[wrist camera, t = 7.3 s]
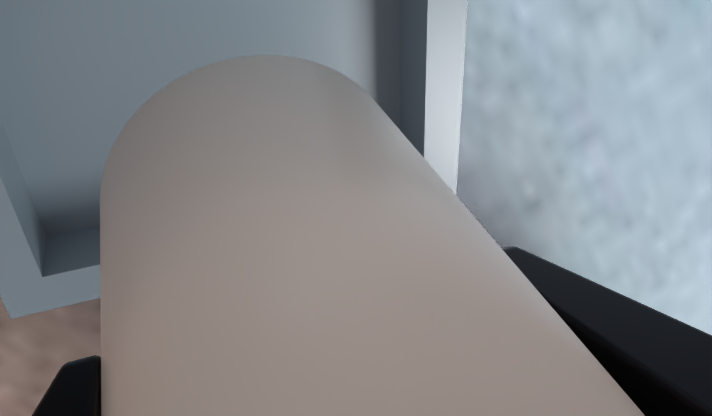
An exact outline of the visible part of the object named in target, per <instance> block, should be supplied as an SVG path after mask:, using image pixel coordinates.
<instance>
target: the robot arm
mask: <svg viewBox="0 0 712 416" xmlns="http://www.w3.org/2000/svg"><path fill="white" fill-rule="evenodd" d="M502 250H503V251H504V252H505V253H506V254H507V255H508V257H509V258H510V259H511V260H512V261H513V262H514V264H515V265H516V266H517V267H518V268H519V269H520V271H521V272H522V273H523V274H524V275H525V276H526V278H527V279H528V280H529V281H530V282H531V283H532V285H533V286H534V287H535V288H536V289H537V290H538V292H539V293H540V294H541V295H542V296H543V297H544V299H545V300H546V301H547V302H548V303H549V304H550V306H551V307H552V308H553V309H554V310H555V311H556V313H557V314H558V315H559V316H560V317H561V318H562V320H563V321H564V322H565V323H566V324H567V325H568V327H569V328H570V329H571V330H572V331H573V332H574V334H575V335H576V336H577V337H578V338H579V339H580V341H581V342H582V343H583V344H584V345H585V346H586V348H587V349H588V350H589V351H590V352H591V353H592V354H593V356H594V357H595V358H596V359H597V360H598V361H599V363H600V364H601V365H602V366H603V367H604V368H605V370H606V371H607V372H608V373H609V374H610V375H611V377H612V378H613V379H614V380H615V381H616V382H617V384H618V385H619V386H620V387H621V388H622V389H623V391H624V392H625V393H626V394H627V395H628V396H629V398H630V399H631V400H632V401H633V402H634V403H635V405H636V406H637V407H638V408H639V409H640V410H641V412H642V413H643V414H644V415H645V416H712V335H710V334H707V333H705V332H703V331H701V330H699V329H696V328H694V327H692V326H690V325H688V324H685V323H683V322H681V321H679V320H677V319H674V318H672V317H670V316H668V315H666V314H663V313H661V312H659V311H657V310H655V309H652V308H650V307H648V306H646V305H644V304H641V303H639V302H637V301H635V300H633V299H630V298H628V297H626V296H624V295H622V294H619V293H617V292H615V291H613V290H611V289H608V288H606V287H604V286H602V285H600V284H597V283H595V282H593V281H591V280H589V279H586V278H584V277H582V276H580V275H577V274H575V273H573V272H571V271H569V270H566V269H564V268H562V267H560V266H558V265H555V264H553V263H551V262H549V261H547V260H544V259H542V258H540V257H538V256H536V255H533V254H531V253H529V252H527V251H525V250H522V249H520V248H518V247H506V248H503V249H502ZM32 416H101V357H99V356H96V355H95V356H90V357H86V358H83V359H79V360H75V361H71V362H68V363H66V364H64V365H63V366H62V367H61V369H60V370H59V372H58V373H57V375H56V377H55V378H54V380H53V382H52V383H51V385H50V387H49V388H48V390H47V391H46V393H45V395H44V396H43V398H42V400H41V401H40V403H39V405H38V406H37V408H36V410H35V411H34V413H33V415H32Z"/></svg>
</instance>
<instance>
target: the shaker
mask: <svg viewBox="0 0 712 416" xmlns="http://www.w3.org/2000/svg"><path fill="white" fill-rule="evenodd" d="M100 298H101V416H645V415H644V414H643V413H642V412H641V410H640V409H639V408H638V407H637V406H636V405H635V403H634V402H633V401H632V400H631V399H630V398H629V396H628V395H627V394H626V393H625V392H624V391H623V389H622V388H621V387H620V386H619V385H618V384H617V382H616V381H615V380H614V379H613V378H612V377H611V375H610V374H609V373H608V372H607V371H606V370H605V368H604V367H603V366H602V365H601V364H600V363H599V361H598V360H597V359H596V358H595V357H594V356H593V354H592V353H591V352H590V351H589V350H588V349H587V348H586V346H585V345H584V344H583V343H582V342H581V341H580V339H579V338H578V337H577V336H576V335H575V334H574V332H573V331H572V330H571V329H570V328H569V327H568V325H567V324H566V323H565V322H564V321H563V320H562V318H561V317H560V316H559V315H558V314H557V313H556V311H555V310H554V309H553V308H552V307H551V306H550V304H549V303H548V302H547V301H546V300H545V299H544V297H543V296H542V295H541V294H540V293H539V292H538V290H537V289H536V288H535V287H534V286H533V285H532V283H531V282H530V281H529V280H528V279H527V278H526V276H525V275H524V274H523V273H522V272H521V271H520V269H519V268H518V267H517V266H516V265H515V264H514V262H513V261H512V260H511V259H510V258H509V257H508V255H507V254H506V253H505V252H504V251H503V250H502V248H501V247H500V246H499V245H498V244H497V243H496V241H495V240H494V239H493V238H492V237H491V236H490V234H489V233H488V232H487V231H486V230H485V229H484V227H483V226H482V225H481V224H480V223H479V222H478V221H477V219H476V218H475V217H474V216H473V215H472V214H471V212H470V211H469V210H468V209H467V208H466V207H465V205H464V204H463V203H462V202H461V201H460V200H459V198H458V197H457V196H456V195H455V194H454V193H453V191H452V190H451V189H450V188H449V187H448V186H447V184H446V183H445V182H444V181H443V180H442V179H441V177H440V176H439V175H438V174H437V173H436V172H435V170H434V169H433V168H432V167H431V166H430V165H429V163H428V162H427V161H426V160H425V159H424V158H423V156H422V155H421V154H420V153H419V152H418V151H417V149H416V148H415V147H414V146H413V145H412V144H411V142H410V141H409V140H408V139H407V138H406V137H405V135H404V134H403V133H402V132H401V131H400V130H399V128H398V127H397V126H396V125H395V124H394V123H393V121H392V120H391V119H390V118H389V117H388V116H387V114H386V113H385V112H384V111H383V110H382V109H381V107H380V106H379V105H378V104H377V103H376V102H375V100H374V99H373V98H372V97H371V96H370V95H369V94H368V93H367V92H366V91H365V90H364V89H362V88H361V87H360V86H359V85H358V84H357V83H355V82H354V81H352V80H351V79H349V78H348V77H346V76H345V75H343V74H342V73H340V72H338V71H336V70H334V69H331V68H329V67H327V66H325V65H323V64H319V63H316V62H313V61H309V60H306V59H302V58H296V57H290V56H284V55H253V56H243V57H236V58H232V59H227V60H223V61H219V62H215V63H212V64H209V65H207V66H204V67H201V68H199V69H196V70H194V71H192V72H190V73H188V74H186V75H184V76H182V77H180V78H178V79H176V80H174V81H173V82H171V83H170V84H168V85H167V86H166V87H164V88H163V89H161V90H160V91H158V92H157V93H155V94H154V95H153V96H152V97H151V98H150V99H149V100H148V101H147V102H146V103H144V104H143V105H142V106H141V107H140V108H139V109H138V110H137V111H136V113H135V114H134V115H133V116H132V117H131V119H130V120H129V121H128V122H127V123H126V125H125V126H124V128H123V129H122V131H121V133H120V134H119V136H118V137H117V139H116V141H115V142H114V144H113V147H112V149H111V151H110V154H109V156H108V158H107V161H106V164H105V168H104V172H103V176H102V180H101V190H100Z"/></svg>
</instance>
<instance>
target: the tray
mask: <svg viewBox="0 0 712 416" xmlns="http://www.w3.org/2000/svg"><path fill="white" fill-rule="evenodd" d="M467 5H468V0H0V297H1V299H2V301H3V303H4V305H5V308H6V310H7V312H8V314H9V316H10V318H11V319H13V318H17V317H22V316H26V315H30V314H34V313H39V312H43V311H47V310H51V309H56V308H60V307H64V306H68V305H73V304H77V303H81V302H85V301H90V300H94V299H98V298H100V190H101V180H102V176H103V172H104V168H105V164H106V161H107V158H108V156H109V154H110V151H111V149H112V147H113V144H114V142H115V141H116V139H117V137H118V136H119V134H120V133H121V131H122V129H123V128H124V126H125V125H126V123H127V122H128V121H129V120H130V119H131V117H132V116H133V115H134V114H135V113H136V111H137V110H138V109H139V108H140V107H141V106H142V105H143V104H144V103H146V102H147V101H148V100H149V99H150V98H151V97H152V96H153V95H154V94H155V93H157V92H158V91H160V90H161V89H163V88H164V87H166V86H167V85H168V84H170V83H171V82H173V81H174V80H176V79H178V78H180V77H182V76H184V75H186V74H188V73H190V72H192V71H194V70H196V69H199V68H201V67H204V66H207V65H209V64H212V63H215V62H219V61H223V60H227V59H232V58H236V57H243V56H253V55H284V56H290V57H296V58H302V59H306V60H309V61H313V62H316V63H319V64H323V65H325V66H327V67H329V68H331V69H334V70H336V71H338V72H340V73H342V74H343V75H345V76H346V77H348V78H349V79H351V80H352V81H354V82H355V83H357V84H358V85H359V86H360V87H361V88H362V89H364V90H365V91H366V92H367V93H368V94H369V95H370V96H371V97H372V98H373V99H374V100H375V102H376V103H377V104H378V105H379V106H380V107H381V109H382V110H383V111H384V112H385V113H386V114H387V116H388V117H389V118H390V119H391V120H392V121H393V123H394V124H395V125H396V126H397V127H398V128H399V130H400V131H401V132H402V133H403V134H404V135H405V137H406V138H407V139H408V140H409V141H410V142H411V144H412V145H413V146H414V147H415V148H416V149H417V151H418V152H419V153H420V154H421V155H422V156H423V158H424V159H425V160H426V161H427V162H428V163H429V165H430V166H431V167H432V168H433V169H434V170H435V172H436V173H437V174H438V175H439V176H440V177H441V179H442V180H443V181H444V182H445V183H446V184H447V186H448V187H449V188H450V189H451V190H452V191H453V193H454V194H455V195H456V190H457V173H458V156H459V140H460V123H461V106H462V89H463V72H464V55H465V38H466V21H467Z"/></svg>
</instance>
